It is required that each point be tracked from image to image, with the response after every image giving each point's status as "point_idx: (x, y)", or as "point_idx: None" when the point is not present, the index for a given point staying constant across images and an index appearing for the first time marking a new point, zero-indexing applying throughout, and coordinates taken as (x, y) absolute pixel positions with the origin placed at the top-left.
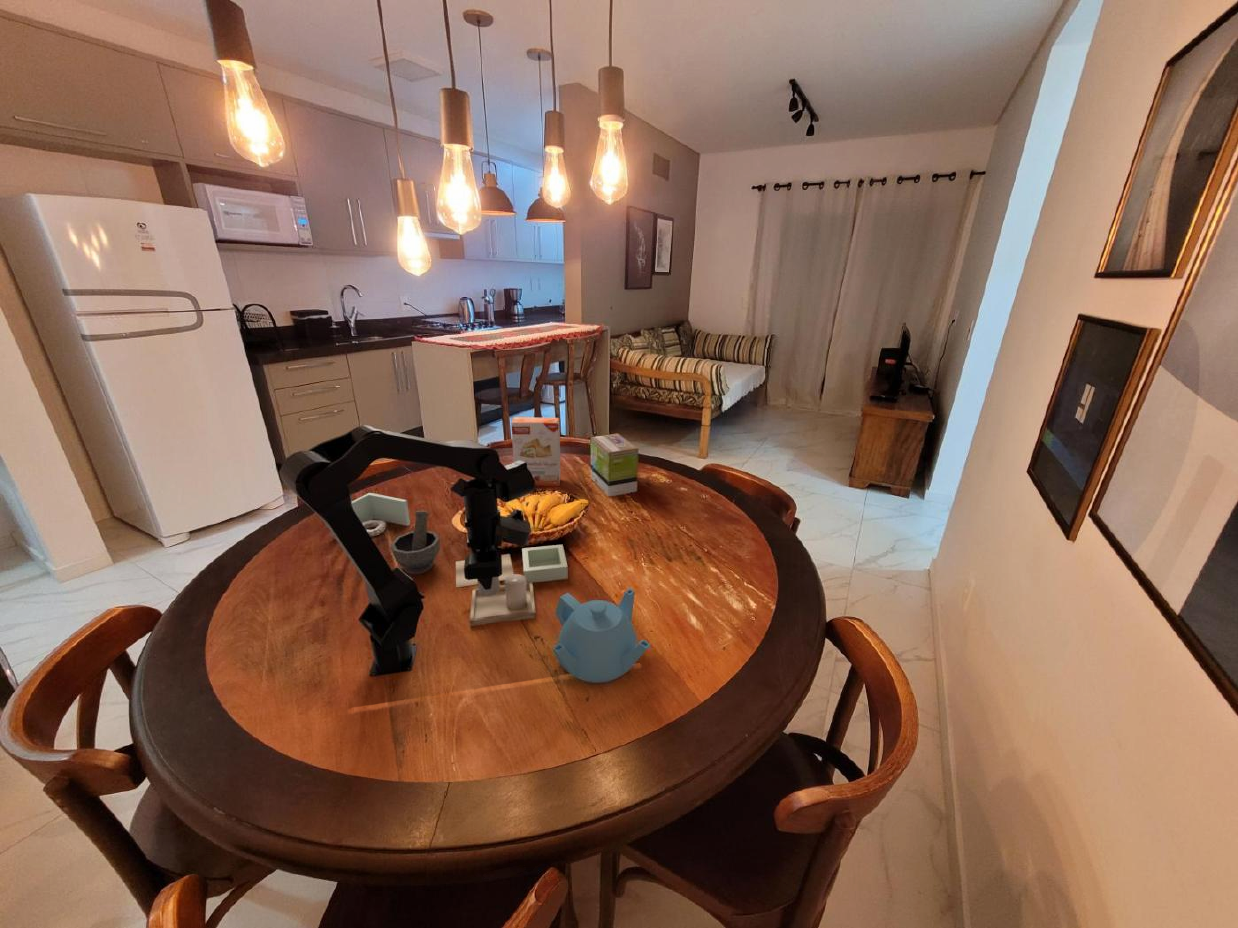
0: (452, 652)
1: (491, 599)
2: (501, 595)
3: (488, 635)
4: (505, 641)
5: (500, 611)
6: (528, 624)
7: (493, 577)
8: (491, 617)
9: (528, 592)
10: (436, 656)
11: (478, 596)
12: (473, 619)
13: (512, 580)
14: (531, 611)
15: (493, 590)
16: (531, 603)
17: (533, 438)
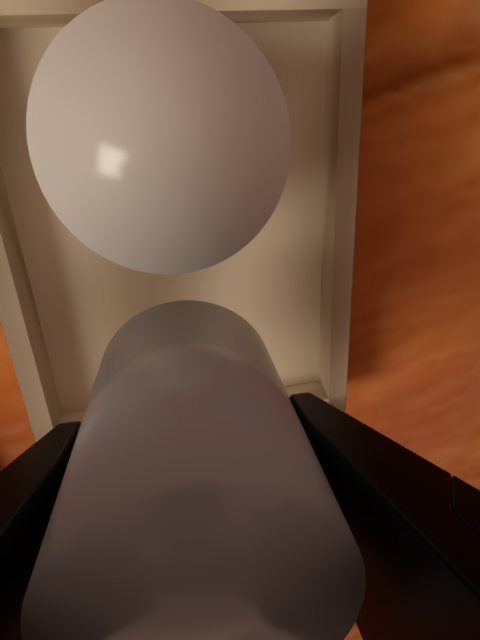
0: (461, 426)
1: (115, 321)
2: (71, 262)
3: (405, 297)
4: (476, 205)
5: (242, 254)
6: (378, 59)
7: (301, 431)
8: (345, 305)
9: (29, 44)
10: (461, 473)
11: (82, 397)
12: (337, 396)
13: (173, 184)
14: (346, 14)
15: (269, 355)
16: (245, 9)
17: None
